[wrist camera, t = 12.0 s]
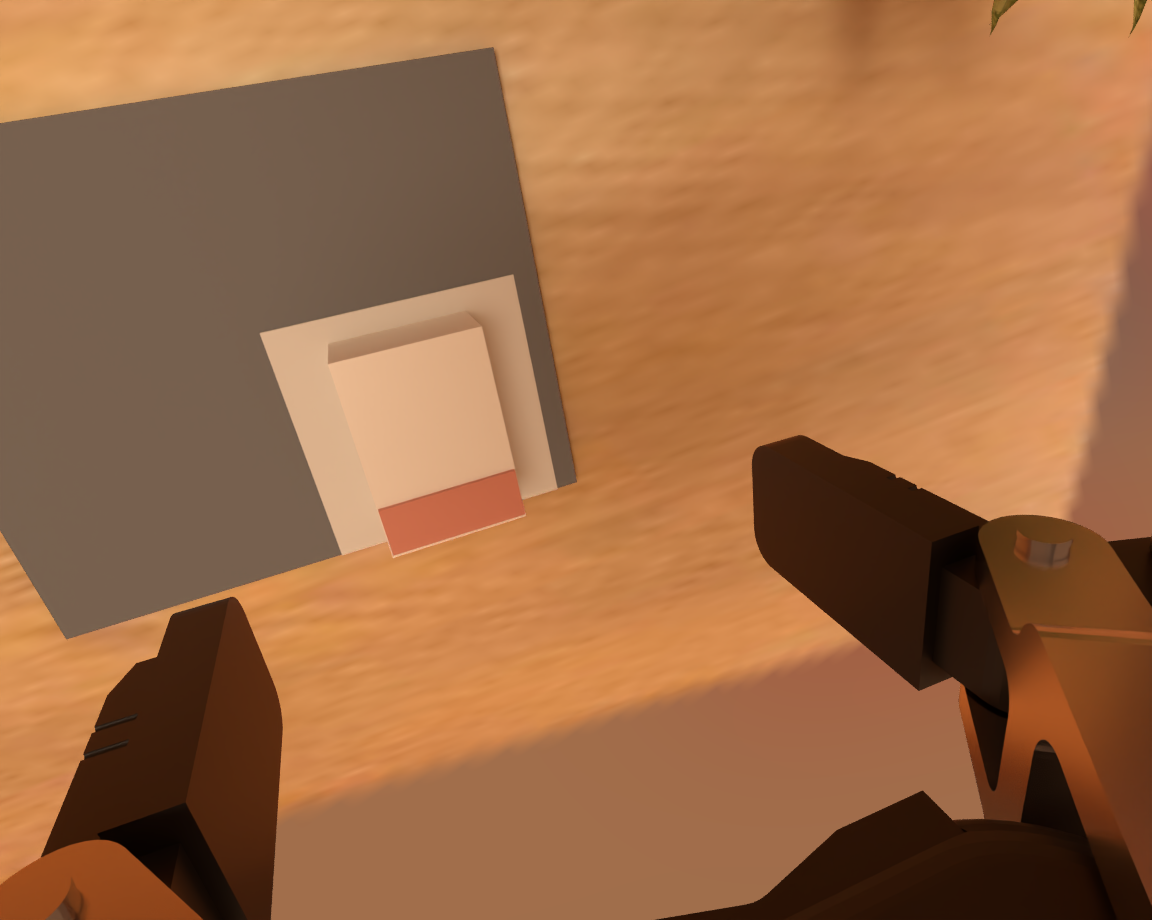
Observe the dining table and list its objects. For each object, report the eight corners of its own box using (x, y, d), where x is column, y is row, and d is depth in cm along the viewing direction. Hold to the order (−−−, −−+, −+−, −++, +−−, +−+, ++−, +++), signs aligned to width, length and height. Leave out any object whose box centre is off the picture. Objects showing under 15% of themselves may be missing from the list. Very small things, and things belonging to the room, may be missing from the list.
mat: (71, 630, 28) (65, 641, 28) (-213, 158, 21) (-229, 158, 20) (572, 477, 33) (577, 482, 33) (489, 50, 26) (493, 46, 25)
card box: (328, 343, 27) (327, 365, 24) (465, 310, 28) (482, 327, 25) (386, 519, 30) (393, 560, 27) (506, 483, 31) (527, 518, 28)
